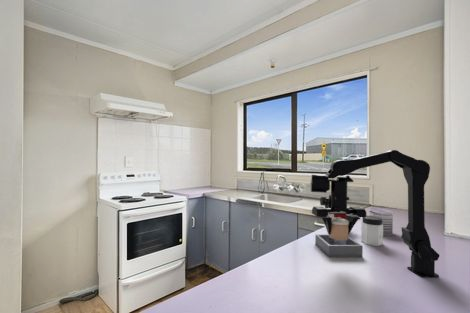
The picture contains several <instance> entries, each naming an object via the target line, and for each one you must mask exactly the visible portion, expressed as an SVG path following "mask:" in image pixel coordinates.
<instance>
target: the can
mask: <svg viewBox="0 0 470 313" xmlns="http://www.w3.org/2000/svg"><path fill="white" fill-rule="evenodd" d="M368 210H369V212H368V213H369V215H368V216H376V217H380V218H382V224H383V236H385V237H387V236H388V237H389V236H393V232H394V231H393V228H394V227H393V226H394V224H393V222H394V220H393V219H394V216H393V215H394V214H395V213H394V212H392V211H391V210H388V209H383V208H377V207H376V208H374V207H370V208H369V209H368Z"/></svg>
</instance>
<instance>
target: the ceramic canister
mask: <svg viewBox="0 0 470 313" xmlns="http://www.w3.org/2000/svg"><path fill="white" fill-rule="evenodd" d="M331 218H332V219H331V233H330V235H329V237H330V238H332V239H336V240H348V237H349V235H348V224H349V221H348V220H346V219H342V218H341V217H335V218H334V217H331Z"/></svg>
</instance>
